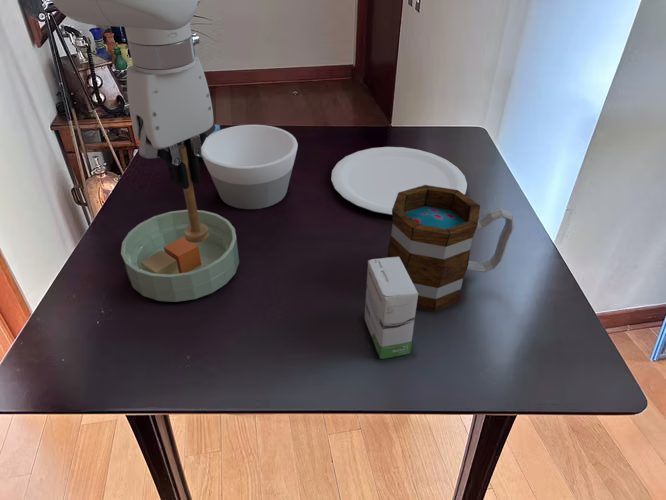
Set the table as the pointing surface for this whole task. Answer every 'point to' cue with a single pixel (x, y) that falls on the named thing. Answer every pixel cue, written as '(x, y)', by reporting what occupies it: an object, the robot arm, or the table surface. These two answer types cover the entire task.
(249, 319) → the table surface
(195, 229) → the stirrer
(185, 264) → the orange block
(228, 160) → the bowl
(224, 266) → the stir bowl
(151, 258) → the maple block
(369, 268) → the ink box
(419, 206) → the mug
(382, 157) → the plate
